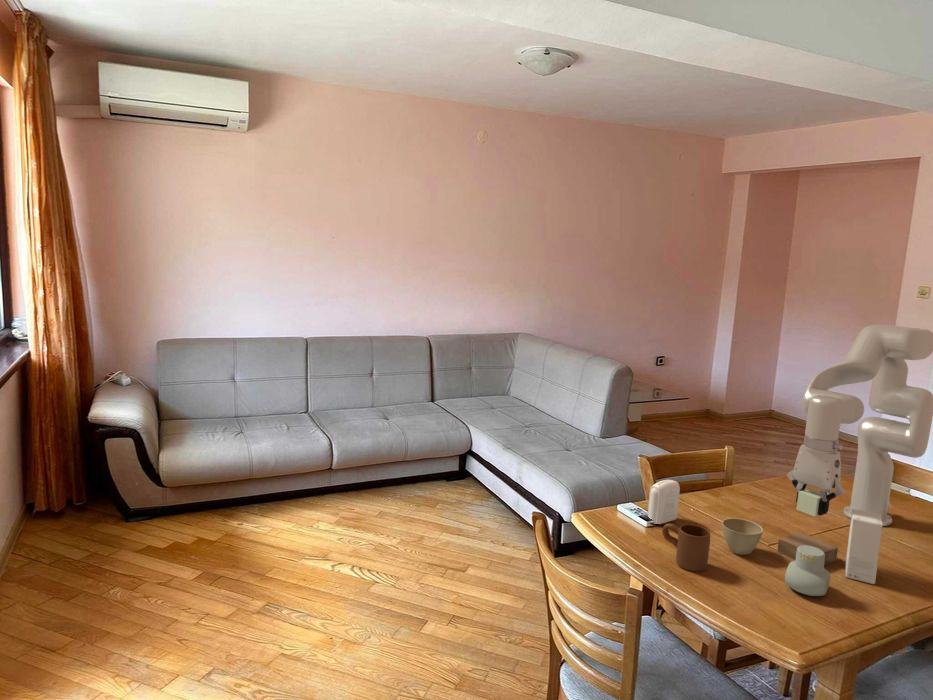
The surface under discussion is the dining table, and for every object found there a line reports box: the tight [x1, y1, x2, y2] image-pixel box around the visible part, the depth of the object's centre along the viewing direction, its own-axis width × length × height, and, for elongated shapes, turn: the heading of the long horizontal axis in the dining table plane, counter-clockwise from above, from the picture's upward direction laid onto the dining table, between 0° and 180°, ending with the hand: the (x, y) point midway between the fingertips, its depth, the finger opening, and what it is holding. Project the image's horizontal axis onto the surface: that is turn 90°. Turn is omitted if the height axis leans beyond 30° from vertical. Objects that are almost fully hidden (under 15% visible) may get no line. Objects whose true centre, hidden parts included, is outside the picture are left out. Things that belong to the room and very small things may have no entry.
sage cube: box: [796, 488, 822, 517], centre depth 162 cm, size 5×5×5 cm
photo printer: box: [646, 479, 681, 525], centre depth 182 cm, size 10×4×12 cm, turn 123°
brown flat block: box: [776, 531, 839, 566], centre depth 164 cm, size 10×10×4 cm
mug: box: [661, 523, 711, 573], centre depth 158 cm, size 12×8×9 cm, turn 50°
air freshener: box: [784, 545, 831, 597], centre depth 147 cm, size 11×8×10 cm
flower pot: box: [721, 517, 764, 556], centre depth 166 cm, size 10×10×7 cm
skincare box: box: [845, 509, 883, 585], centre depth 155 cm, size 8×7×16 cm
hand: (811, 509), depth 163 cm, fingers closed on sage cube, 5 cm apart
